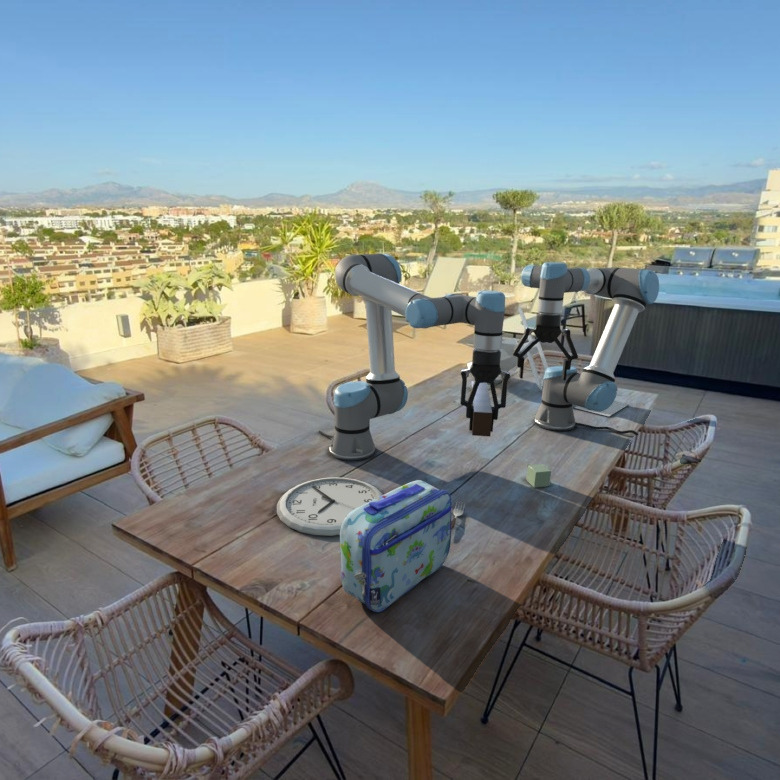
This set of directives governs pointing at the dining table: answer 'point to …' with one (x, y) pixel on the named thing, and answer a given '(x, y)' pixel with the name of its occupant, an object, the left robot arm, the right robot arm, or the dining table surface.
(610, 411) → the invitation card
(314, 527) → the wall clock
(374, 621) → the dining table surface
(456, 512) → the fork
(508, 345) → the white plastic object
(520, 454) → the dining table surface
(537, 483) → the sage block
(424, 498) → the lunch box
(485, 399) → the walnut block
